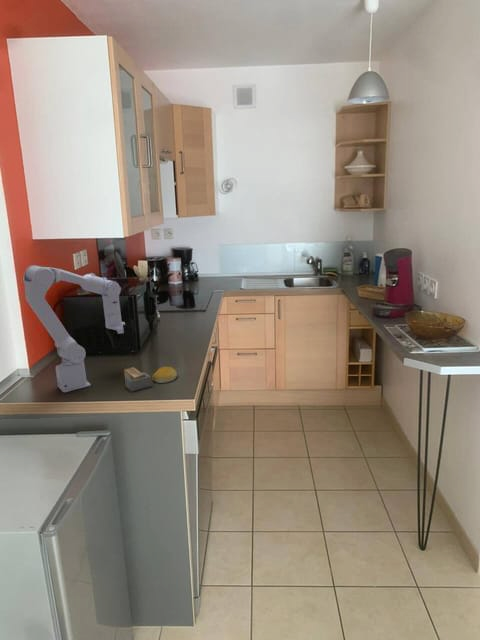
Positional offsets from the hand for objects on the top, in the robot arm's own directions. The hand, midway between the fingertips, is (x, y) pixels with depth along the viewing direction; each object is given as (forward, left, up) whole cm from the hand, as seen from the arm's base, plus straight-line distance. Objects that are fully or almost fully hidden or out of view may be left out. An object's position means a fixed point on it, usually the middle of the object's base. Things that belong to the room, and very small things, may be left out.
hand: (117, 348), depth 175 cm
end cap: (0, -19, -9) cm, 21 cm away
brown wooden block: (0, -15, -10) cm, 18 cm away
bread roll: (+10, -18, -10) cm, 23 cm away
